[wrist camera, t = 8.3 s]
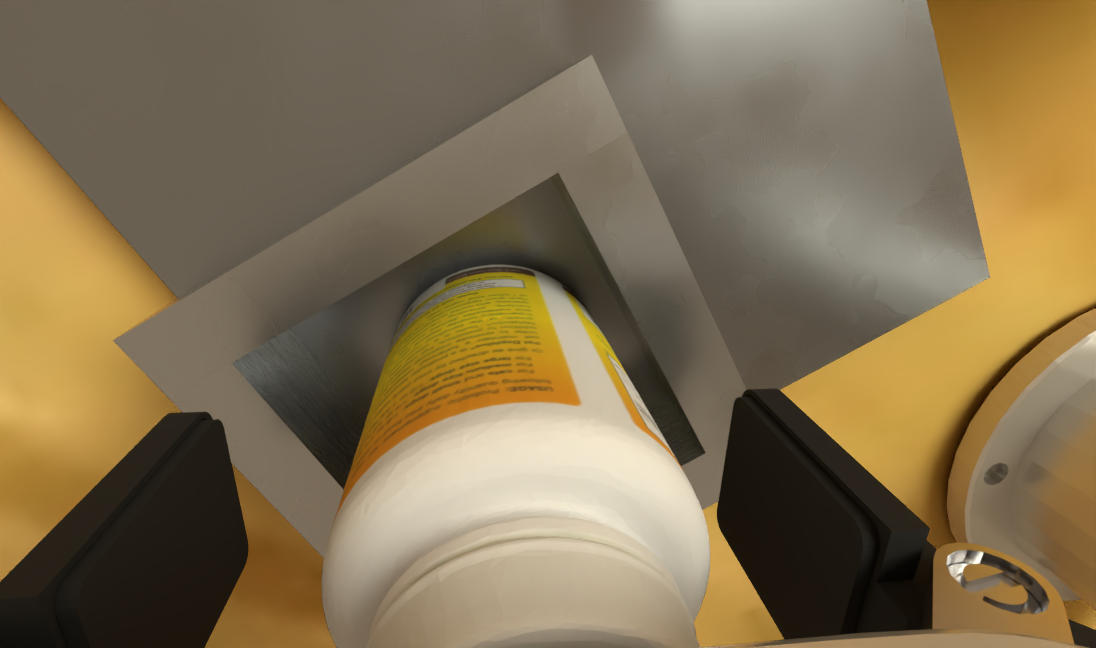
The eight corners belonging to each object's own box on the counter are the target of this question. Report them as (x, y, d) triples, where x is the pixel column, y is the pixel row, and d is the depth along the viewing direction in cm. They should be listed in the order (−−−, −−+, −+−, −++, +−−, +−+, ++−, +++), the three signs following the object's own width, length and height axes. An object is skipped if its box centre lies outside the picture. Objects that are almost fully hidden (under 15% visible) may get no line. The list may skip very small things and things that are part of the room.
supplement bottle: (354, 394, 15) (159, 876, 6) (458, 216, 14) (434, 458, 4) (530, 475, 17) (607, 956, 7) (639, 324, 15) (905, 669, 6)
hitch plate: (956, 266, 17) (1096, 312, 14) (428, 550, 19) (417, 667, 15) (718, -677, 10) (874, -1173, 6) (-126, -96, 11) (-437, -202, 7)
